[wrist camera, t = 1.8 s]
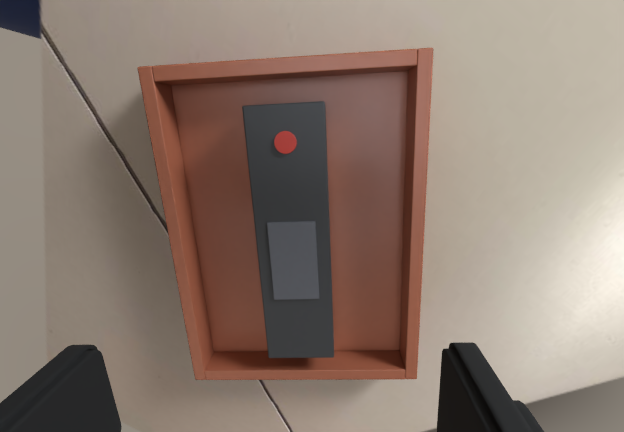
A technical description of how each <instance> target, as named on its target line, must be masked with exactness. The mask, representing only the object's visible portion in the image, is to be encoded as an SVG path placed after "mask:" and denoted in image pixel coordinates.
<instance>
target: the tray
mask: <svg viewBox="0 0 624 432" xmlns="http://www.w3.org/2000/svg"><path fill="white" fill-rule="evenodd" d="M432 66H433V48H421V49H405V50H390V51H374V52H359V53H344V54H328V55H313V56H297V57H282V58H266V59H251V60H236V61H220V62H205V63H189V64H174V65H159V66H143V67H138V73H139V78H140V83H141V89H142V94H143V100H144V105H145V110H146V116H147V121H148V127H149V132H150V137H151V143H152V148H153V154H154V159H155V164H156V170H157V175H158V181H159V186H160V191H161V197H162V202H163V207H164V213H165V218H166V224H167V229H168V234H169V240H170V245H171V251H172V256H173V261H174V267H175V272H176V278H177V283H178V288H179V294H180V299H181V304H182V310H183V315H184V321H185V326H186V331H187V337H188V342H189V348H190V353H191V358H192V364H193V369H194V375H195V379H196V380H307V379H417V364H418V344H419V324H420V304H421V284H422V264H423V244H424V225H425V205H426V185H427V165H428V145H429V125H430V105H431V86H432ZM317 101H324V102H325V108H326V135H327V163H328V190H329V218H330V245H331V273H332V300H333V328H334V357H333V358H269V357H268V349H267V339H266V329H265V320H264V310H263V301H262V291H261V282H260V272H259V263H258V253H257V244H256V234H255V225H254V215H253V206H252V196H251V187H250V177H249V168H248V158H247V149H246V139H245V130H244V120H243V111H242V106H246V105H264V104H281V103H299V102H317Z"/></svg>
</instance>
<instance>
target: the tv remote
mask: <svg viewBox="0 0 624 432" xmlns="http://www.w3.org/2000/svg"><path fill="white" fill-rule="evenodd" d="M242 111H243V120H244V130H245V139H246V149H247V158H248V168H249V177H250V187H251V196H252V206H253V215H254V225H255V234H256V244H257V253H258V263H259V272H260V282H261V291H262V301H263V310H264V320H265V329H266V339H267V349H268V357H269V358H333V357H334V328H333V300H332V273H331V245H330V218H329V190H328V163H327V135H326V108H325V102H324V101H317V102H299V103H281V104H264V105H246V106H242Z"/></svg>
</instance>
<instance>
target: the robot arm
mask: <svg viewBox="0 0 624 432" xmlns="http://www.w3.org/2000/svg"><path fill="white" fill-rule="evenodd" d="M0 432H121V422H120V418H119V415H118V411H117V407H116V404H115V400H114V396H113V393H112V389H111V385H110V382H109V378H108V374H107V371H106V367H105V363H104V360H103V356H102V353H101V352H100V351H98V350H97V347H95V346H94V345H71V346H68V347H67V348H65V349H64V350H63V351H62V352H60V353H59V354H58V355H57V356H56V357H55V358H53V359H52V360H51V361H50V362H49V363H47V364H46V365H45V366H44V367H43V368H41V369H40V370H39V371H38V372H37V373H36V374H34V375H33V376H32V377H31V378H30V379H28V380H27V381H26V382H25V383H24V384H23V385H21V386H20V387H19V388H18V389H17V390H15V391H14V392H13V393H12V394H11V395H9V396H8V397H7V398H6V399H5V400H3V401H2V402H1V403H0ZM437 432H544V431H543V430H542V428H541V427H540V425H539V424H538V422H537V421H536V419H535V418H534V417H533V415H532V414H531V412H530V411H529V409H528V408H527V407H526V406H525V405H524V404H523V403H522V402H520V401H513V400H512V399H511V397H510V396H509V394H508V392H507V391H506V389H505V388H504V386H503V385H502V383H501V382H500V380H499V379H498V377H497V376H496V374H495V373H494V371H493V369H492V368H491V366H490V365H489V363H488V362H487V360H486V359H485V357H484V356H483V354H482V353H481V351H480V350H479V348H478V346H477V345H476V344H475V343H450V345H449V349H443V351H442V362H441V377H440V392H439V406H438V421H437Z"/></svg>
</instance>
